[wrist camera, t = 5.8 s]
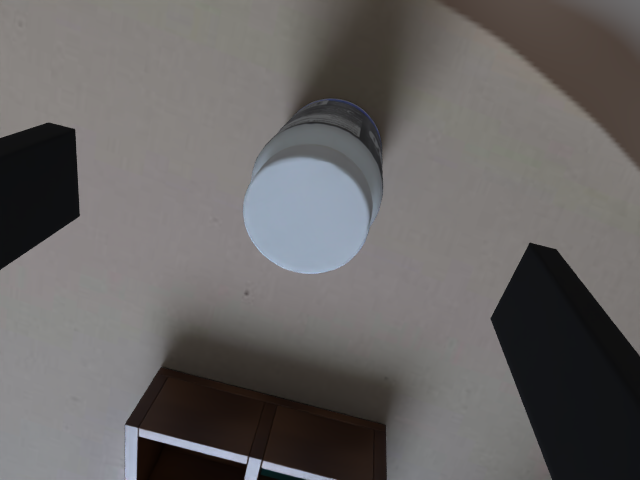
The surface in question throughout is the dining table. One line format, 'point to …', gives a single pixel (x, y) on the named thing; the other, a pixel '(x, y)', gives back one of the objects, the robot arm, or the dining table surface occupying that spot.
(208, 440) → the grid
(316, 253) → the pill bottle
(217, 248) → the dining table surface
